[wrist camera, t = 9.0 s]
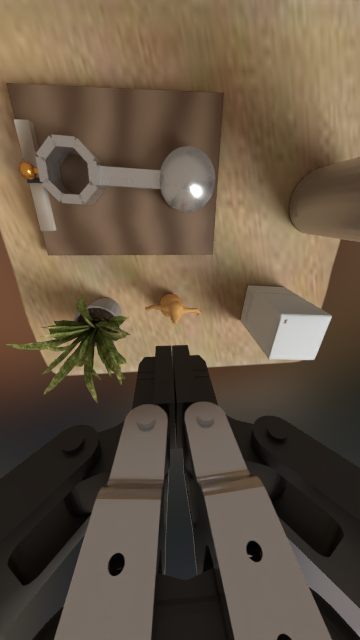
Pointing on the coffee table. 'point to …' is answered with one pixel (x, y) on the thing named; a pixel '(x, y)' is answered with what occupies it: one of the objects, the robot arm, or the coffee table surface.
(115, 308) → the house plant
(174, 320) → the figurine
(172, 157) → the baby rattle
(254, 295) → the supplement box
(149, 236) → the stand base
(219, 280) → the coffee table surface
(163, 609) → the robot arm
